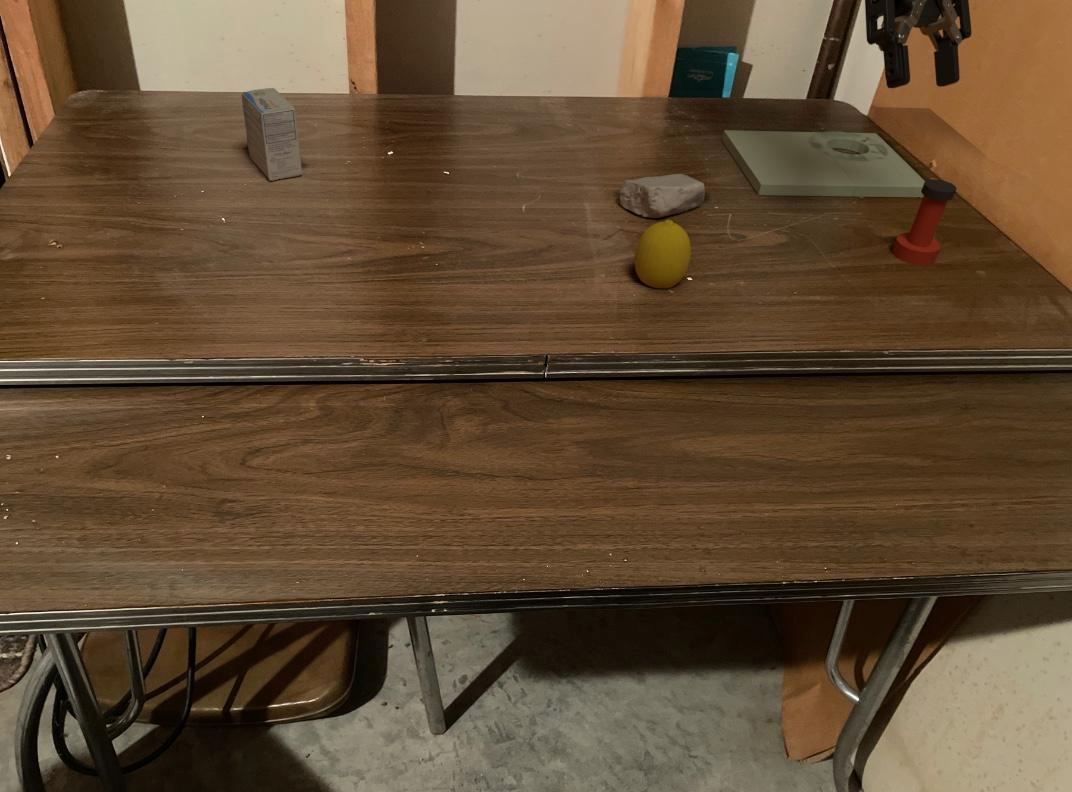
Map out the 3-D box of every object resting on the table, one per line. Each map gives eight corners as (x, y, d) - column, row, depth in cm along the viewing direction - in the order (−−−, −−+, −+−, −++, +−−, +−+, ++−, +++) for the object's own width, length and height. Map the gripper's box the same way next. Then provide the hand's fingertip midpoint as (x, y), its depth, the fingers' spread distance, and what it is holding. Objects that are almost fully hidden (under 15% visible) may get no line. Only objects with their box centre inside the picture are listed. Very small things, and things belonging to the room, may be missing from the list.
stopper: (920, 256, 104) (951, 176, 98) (938, 276, 101) (971, 195, 95) (881, 256, 104) (910, 176, 98) (897, 276, 100) (928, 194, 94)
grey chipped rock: (677, 222, 116) (689, 176, 114) (708, 230, 111) (722, 181, 109) (613, 209, 112) (625, 160, 110) (642, 217, 106) (656, 165, 105)
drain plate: (872, 142, 131) (875, 132, 130) (926, 198, 117) (931, 186, 116) (721, 139, 129) (723, 129, 128) (758, 195, 115) (761, 184, 114)
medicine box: (303, 176, 114) (297, 107, 109) (268, 182, 113) (260, 112, 107) (281, 153, 120) (275, 86, 114) (248, 159, 118) (240, 90, 112)
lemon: (619, 283, 97) (630, 213, 92) (663, 274, 99) (676, 204, 94) (648, 309, 93) (661, 237, 88) (693, 298, 95) (708, 228, 90)
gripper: (902, -102, 86) (915, 76, 89) (988, -92, 93) (998, 74, 96) (835, -68, 93) (849, 97, 96) (920, -61, 100) (931, 93, 102)
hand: (924, 85), depth 96 cm, fingers open, 8 cm apart
